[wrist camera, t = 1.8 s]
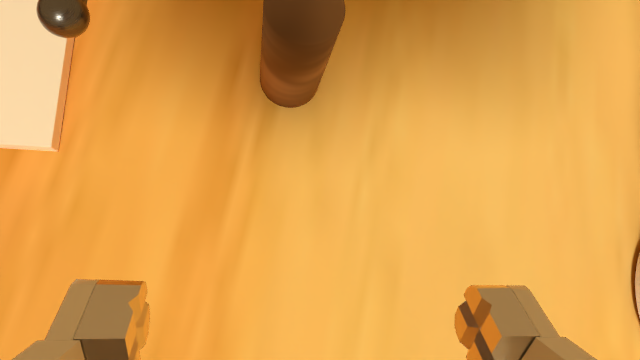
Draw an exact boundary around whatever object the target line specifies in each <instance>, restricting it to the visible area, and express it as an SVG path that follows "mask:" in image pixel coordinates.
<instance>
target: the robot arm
mask: <svg viewBox="0 0 640 360" xmlns="http://www.w3.org/2000/svg"><path fill="white" fill-rule="evenodd" d="M635 292H636V302H637V308H638V313H639V317H640V253H639V257H638V261H637V267H636V276H635ZM146 295H147V286H146V282H144V281H122V280H86V279H76V280H75V281H74V282H73V283H72V284H71V285H70V287H69V289H68V292H67V294H66V296H65V298H64V300H63V302H62V304H61V306H60V308H59V311H58V313H57V315H56V317H55V319H54V321H53V323H52V325H51V327H50V329H49V332H48V334H47V336H46V338H45V340H39V341H36V342H34V343H33V344H32V345H30V346H29V347H28V348H27V349H25V350H24V351H23V352H21V353H20V354H19V355H17V356H16V357H15V358H13V359H12V360H141V358H140V351H139V350H140V349H141V348H142V347H143V346H144V345H145V344H146V340H147V336H148V330H149V322H150V309H149V304H148V303H147V302H145V299H146ZM464 297H465V299H466V301H465V302H464V303H462V304H461V305H460V306H458V309H457V311H456V314H455V329H456V334H457V336H458V339H459V341H460V343H462V344H463V345H464V346H465V347H466V348H467V349H468V352H467V356H466V358H467V360H597V359H595V358H594V357H592V356H591V355H590V354H588V353H587V352H585V351H584V350H583V349H581V348H580V347H578V346H577V345H576V344H574V343H573V342H572V341H570V340H569V339H567V338H566V337H560V336H559V335H558V333H557V331H556V330H555V328H554V327H553V325H552V324H551V322H550V321H549V319H548V317H547V316H546V314H545V313H544V311H543V310H542V308H541V307H540V305H539V304H538V302H537V300H536V299H535V297H534V296H533V294H532V293H531V291H530V290H529V289H528V288H527V287H526V286H504V285H471V286H469V287H468V288H467V289H466V291H465V293H464Z"/></svg>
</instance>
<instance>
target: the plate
mask: <svg viewBox="0 0 640 360" xmlns="http://www.w3.org/2000/svg"><path fill="white" fill-rule="evenodd" d="M37 2H38V0H0V148H10V149H27V150H44V151H58V150H59V143H60V136H61V129H62V122H63V115H64V108H65V101H66V94H67V86H68V79H69V72H70V65H71V58H72V51H73V44H74V38H62V37H58V36H56V35H53V34H52V33H50V32H49V31H47V30H46V29H45V28H44V27H43V25H42V24H41V23H40V21H39V19H38V16H37V11H36V8H37Z"/></svg>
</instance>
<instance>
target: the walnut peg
mask: <svg viewBox="0 0 640 360" xmlns="http://www.w3.org/2000/svg"><path fill="white" fill-rule="evenodd" d="M344 17H345V4H344V0H264V4H263V26H262V47H261V68H260V83H261V87H262V90H263V92H264V93H265V95H266V96H267V97H268V98H269V99H270V100H271V101H272V102H274V103H275V104H277V105H280V106H283V107H298V106H301V105H304V104H305V103H307V102H308V101H310V100H311V99H312V97H313V96H314V95H315V93H316V91H317V88H318V85H319V83H320V80H321V78H322V75H323V72H324V70H325V67H326V65H327V62H328V60H329V57H330V54H331V52H332V49H333V47H334V44H335V41H336V39H337V36H338V34H339V31H340V28H341V26H342V23H343V21H344Z"/></svg>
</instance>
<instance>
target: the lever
mask: <svg viewBox="0 0 640 360" xmlns="http://www.w3.org/2000/svg"><path fill="white" fill-rule="evenodd" d="M36 11H37V16H38V19H39V21H40V23H41V24H42V25H43V27H44V28H45V29H46V30H47V31H49V32H50V33H52V34H53V35H56V36H58V37H62V38H74V37H77V36H79V35H81V34H82V33H84V32H85V30H86V29H87V27H88V25H89V22H90V14H89V10H88V8H87V0H38V2H37V8H36Z"/></svg>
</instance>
